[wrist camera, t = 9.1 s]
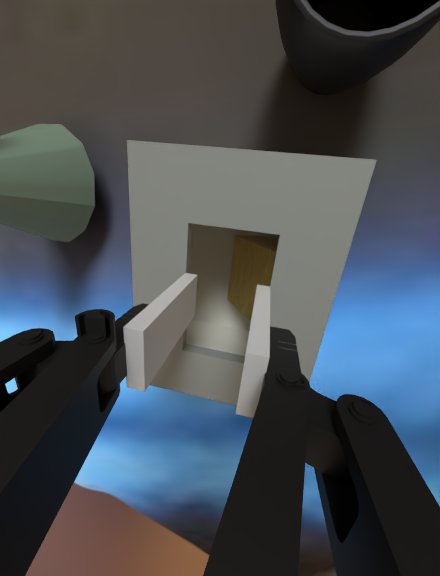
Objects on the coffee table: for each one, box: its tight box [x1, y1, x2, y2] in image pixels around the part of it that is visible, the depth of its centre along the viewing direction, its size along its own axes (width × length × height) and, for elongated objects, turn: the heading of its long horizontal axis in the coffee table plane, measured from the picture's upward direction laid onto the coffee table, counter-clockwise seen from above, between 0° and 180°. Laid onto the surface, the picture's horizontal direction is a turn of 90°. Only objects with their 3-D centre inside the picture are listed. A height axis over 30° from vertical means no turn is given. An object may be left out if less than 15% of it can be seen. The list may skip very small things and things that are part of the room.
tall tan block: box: [227, 235, 278, 322], centre depth 20 cm, size 6×3×6 cm
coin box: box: [127, 140, 376, 406], centre depth 19 cm, size 16×12×10 cm
